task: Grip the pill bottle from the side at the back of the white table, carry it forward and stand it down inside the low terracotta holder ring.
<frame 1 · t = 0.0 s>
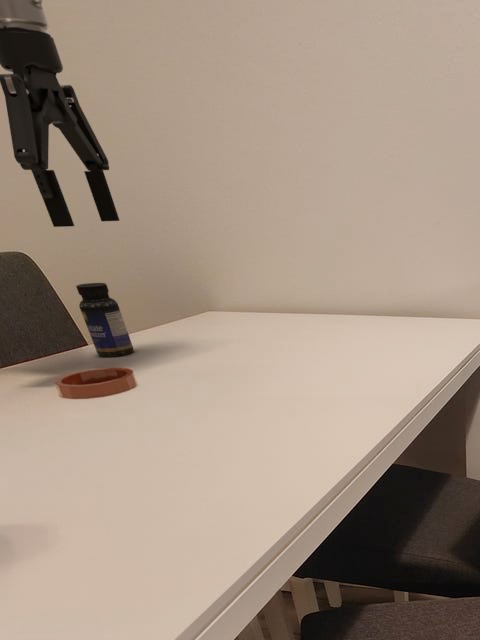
hand: (88, 224, 92), 20 cm above the table, tool pointing down, fingers open, 13 cm apart
holder: (105, 402, 84), on the table
pill bottle: (117, 354, 109), on the table
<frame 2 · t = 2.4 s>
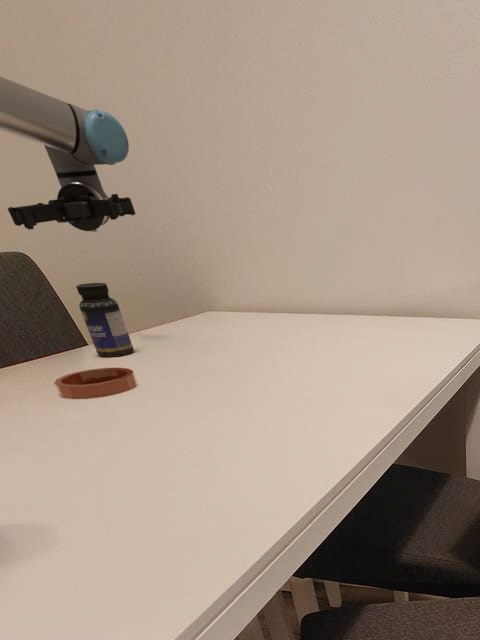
hand: (67, 214, 101), 21 cm above the table, tool horizontal, fingers open, 13 cm apart
nothing on the table moved.
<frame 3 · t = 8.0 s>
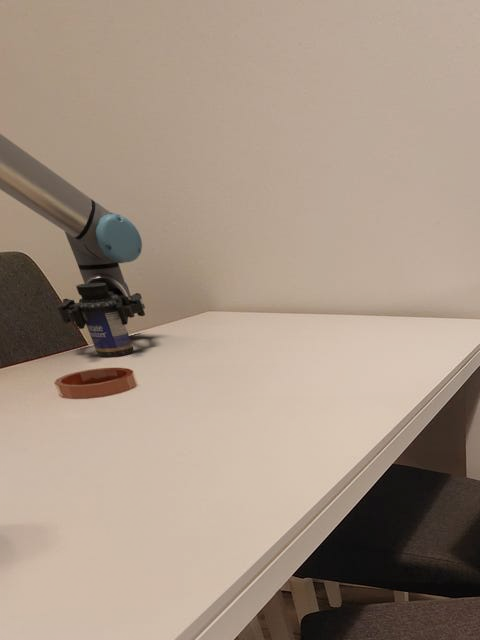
hand: (100, 317, 101), 7 cm above the table, tool horizontal, fingers closed on pill bottle, 6 cm apart
pill bottle: (117, 354, 109), on the table, touching gripper
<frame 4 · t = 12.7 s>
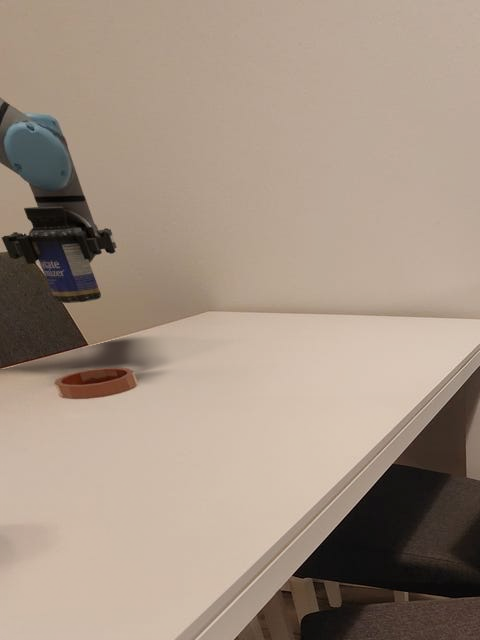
hand: (55, 249, 78), 18 cm above the table, tool horizontal, fingers closed on pill bottle, 6 cm apart
pill bottle: (80, 301, 86), point 11 cm above the table, touching gripper
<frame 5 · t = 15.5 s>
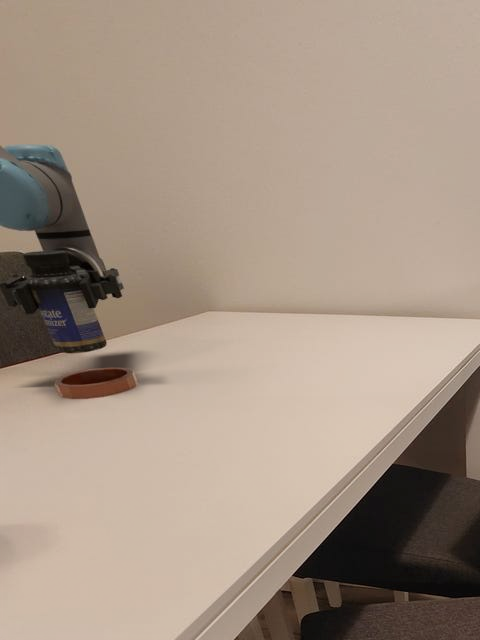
hand: (56, 298, 72), 14 cm above the table, tool horizontal, fingers closed on pill bottle, 6 cm apart
pill bottle: (84, 350, 80), point 7 cm above the table, touching gripper
when the fingers open (7 cm above the table, at t = 17.6 s): pill bottle stays where it is, resting on holder.
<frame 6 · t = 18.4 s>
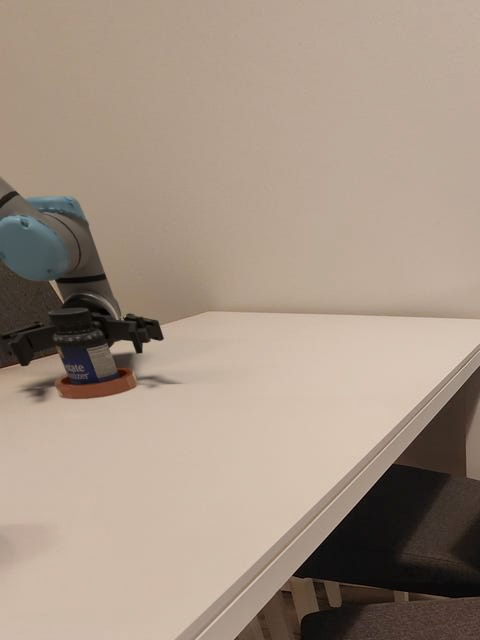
hand: (79, 348, 77), 8 cm above the table, tool horizontal, fingers open, 13 cm apart
pill bottle: (104, 399, 84), resting on holder
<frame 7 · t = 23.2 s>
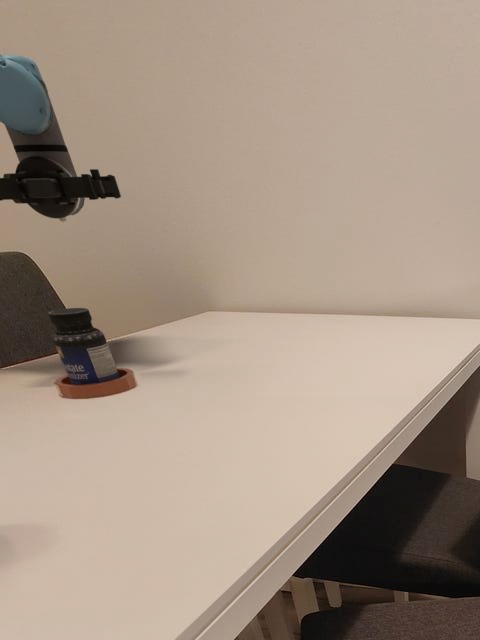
hand: (29, 188, 76), 24 cm above the table, tool horizontal, fingers open, 13 cm apart
nothing on the table moved.
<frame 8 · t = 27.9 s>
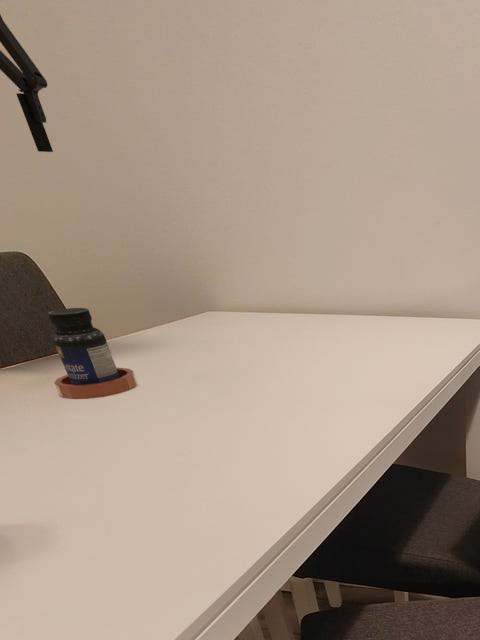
hand: (2, 153, 91), 29 cm above the table, tool pointing down, fingers open, 13 cm apart
nothing on the table moved.
at the end: pill bottle 0.0 cm off-centre in the holder, point 0.4 cm above the holder's base; pill bottle tilted 0°; the gripper is holding nothing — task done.
